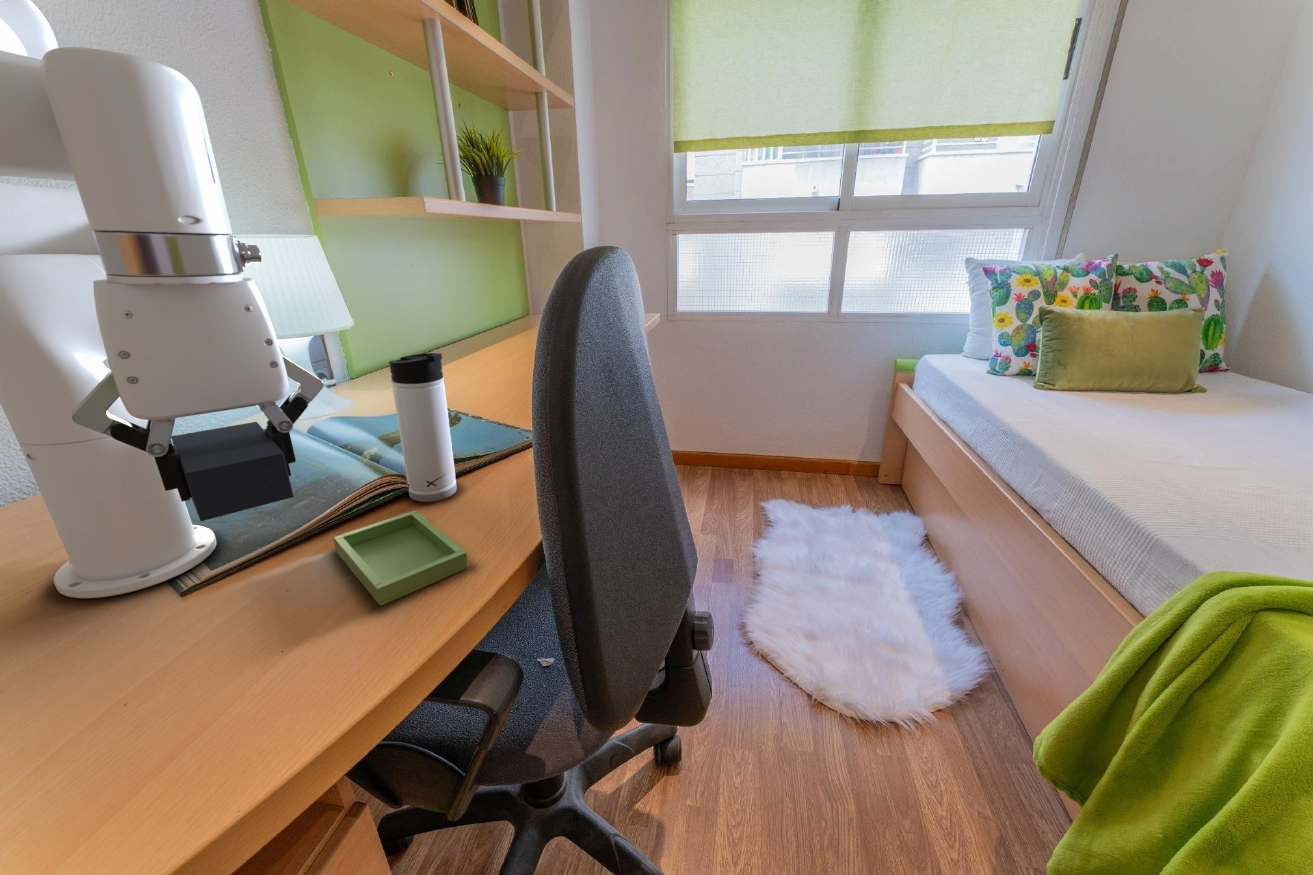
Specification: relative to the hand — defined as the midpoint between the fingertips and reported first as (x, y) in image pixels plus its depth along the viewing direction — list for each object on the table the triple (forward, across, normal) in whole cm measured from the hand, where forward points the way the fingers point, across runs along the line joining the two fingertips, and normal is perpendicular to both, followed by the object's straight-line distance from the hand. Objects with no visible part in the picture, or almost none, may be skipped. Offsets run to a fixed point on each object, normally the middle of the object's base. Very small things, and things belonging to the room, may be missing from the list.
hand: (235, 481), depth 44 cm
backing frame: (+14, -12, -1) cm, 19 cm away
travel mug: (+14, -22, -15) cm, 30 cm away
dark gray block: (+1, 0, 0) cm, 1 cm away
